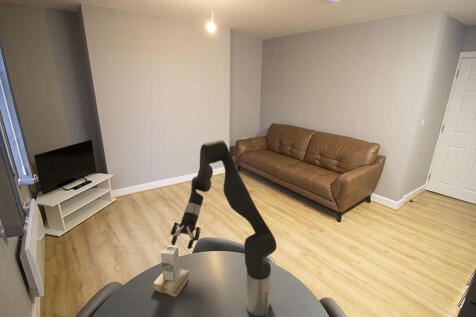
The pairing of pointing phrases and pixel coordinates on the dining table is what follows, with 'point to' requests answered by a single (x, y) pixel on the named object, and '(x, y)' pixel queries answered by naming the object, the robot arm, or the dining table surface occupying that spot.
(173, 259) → the syrup box
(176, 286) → the birch stand
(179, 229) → the robot arm
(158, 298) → the dining table surface
